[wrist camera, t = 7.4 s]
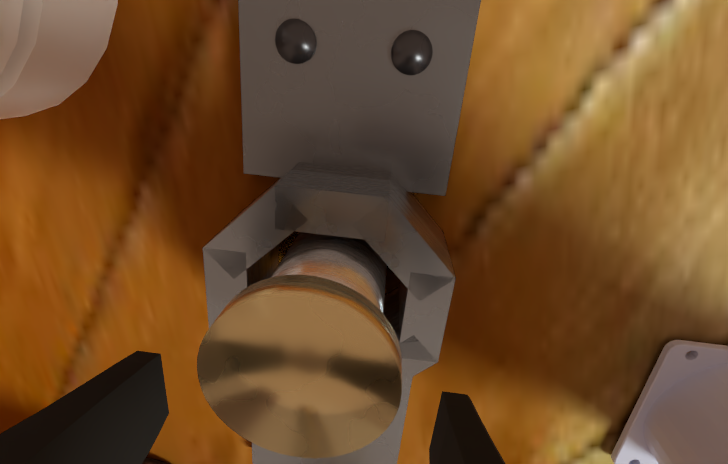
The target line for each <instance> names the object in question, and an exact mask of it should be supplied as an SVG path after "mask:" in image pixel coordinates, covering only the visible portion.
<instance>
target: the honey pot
mask: <svg viewBox="0 0 728 464" xmlns="http://www.w3.org/2000/svg"><path fill="white" fill-rule="evenodd" d="M117 5H118V0H0V119H7V118H14V117H22V116H27V115H30V114H33V113H36V112H39V111H42V110H45V109H48V108H51V107H53V106H56V105H59V104H60V103H62V102H63V101H64V100H65V99H66V98H68V97H69V96H70V95H71V94H73V93H74V92H75V91H76V90H77V89H79V88H80V87H81V86H82V85H84V84H85V83H86V82H87V80H88V79H89V77H90V75H91V74H92V72H93V70H94V69H95V67H96V65H97V64H98V62H99V60H100V59H101V57H102V55H103V54H104V52H105V50H106V49H107V45H108V41H109V37H110V33H111V29H112V25H113V21H114V17H115V13H116V9H117Z"/></svg>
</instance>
